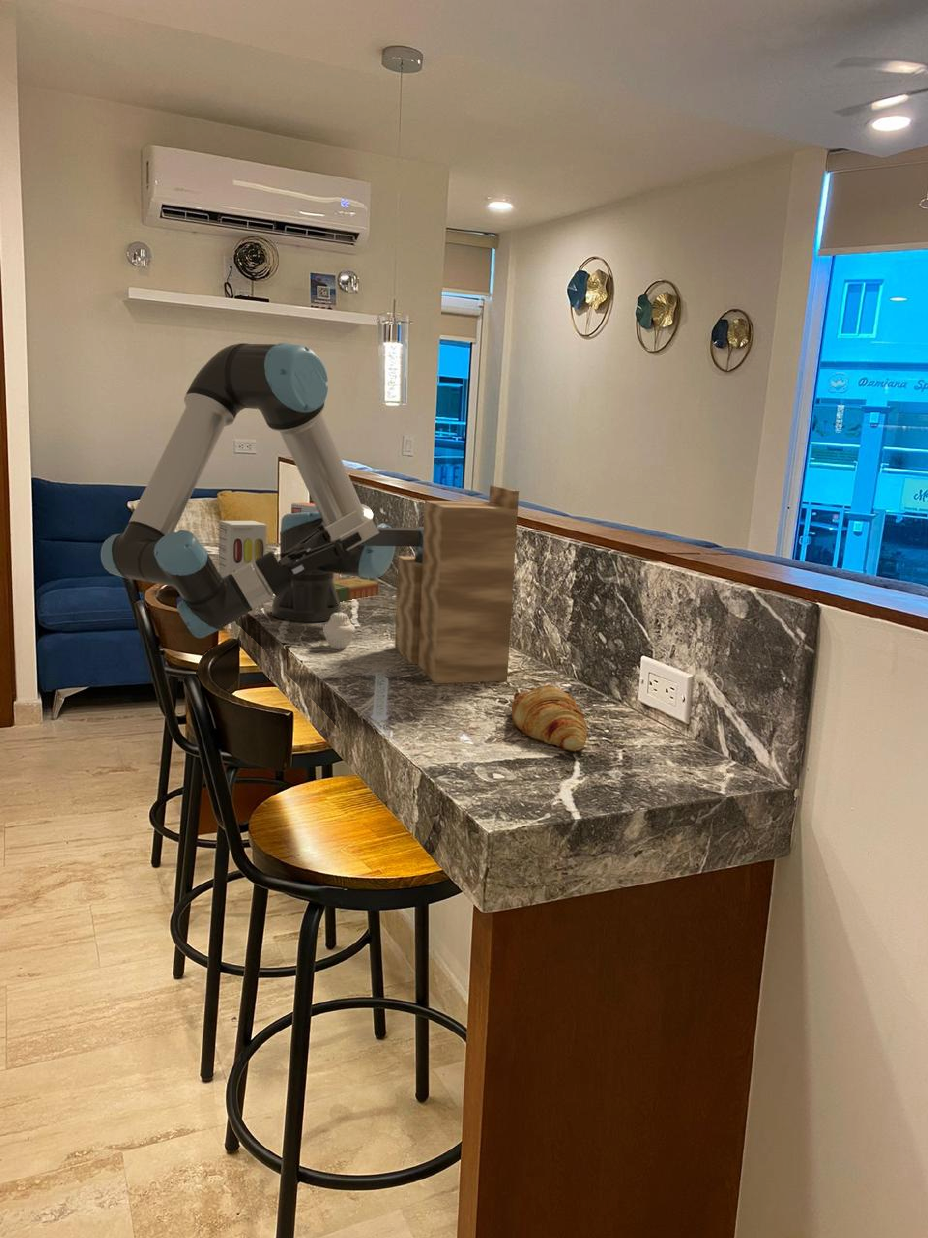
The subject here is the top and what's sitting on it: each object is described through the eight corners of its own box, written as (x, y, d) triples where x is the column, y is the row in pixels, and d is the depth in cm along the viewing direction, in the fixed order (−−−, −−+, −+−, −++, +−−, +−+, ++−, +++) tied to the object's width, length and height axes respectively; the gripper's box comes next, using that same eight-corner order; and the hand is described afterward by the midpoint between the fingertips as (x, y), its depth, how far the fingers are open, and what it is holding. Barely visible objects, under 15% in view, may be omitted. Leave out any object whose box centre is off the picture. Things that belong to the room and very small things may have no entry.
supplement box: (229, 592, 230) (229, 524, 226) (217, 586, 237) (217, 520, 234) (266, 590, 235) (267, 523, 232) (253, 584, 242) (253, 519, 239)
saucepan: (353, 556, 176) (354, 525, 175) (459, 557, 182) (461, 527, 181) (362, 565, 167) (363, 531, 166) (474, 566, 173) (476, 533, 172)
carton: (378, 598, 235) (379, 581, 234) (332, 606, 222) (332, 588, 221) (354, 593, 240) (355, 576, 239) (308, 600, 227) (308, 583, 226)
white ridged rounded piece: (321, 643, 184) (321, 608, 182) (352, 643, 185) (353, 608, 184) (324, 651, 178) (325, 615, 176) (356, 650, 179) (357, 615, 178)
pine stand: (395, 647, 184) (401, 477, 177) (463, 645, 188) (471, 479, 181) (430, 683, 160) (438, 488, 153) (507, 680, 164) (519, 491, 157)
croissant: (595, 778, 130) (624, 728, 130) (540, 751, 125) (570, 700, 125) (530, 727, 149) (555, 683, 149) (480, 702, 145) (506, 657, 144)
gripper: (266, 585, 179) (362, 530, 183) (283, 611, 156) (393, 548, 160) (246, 551, 177) (343, 496, 180) (261, 573, 154) (372, 510, 157)
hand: (367, 521), depth 170 cm, fingers open, 13 cm apart
